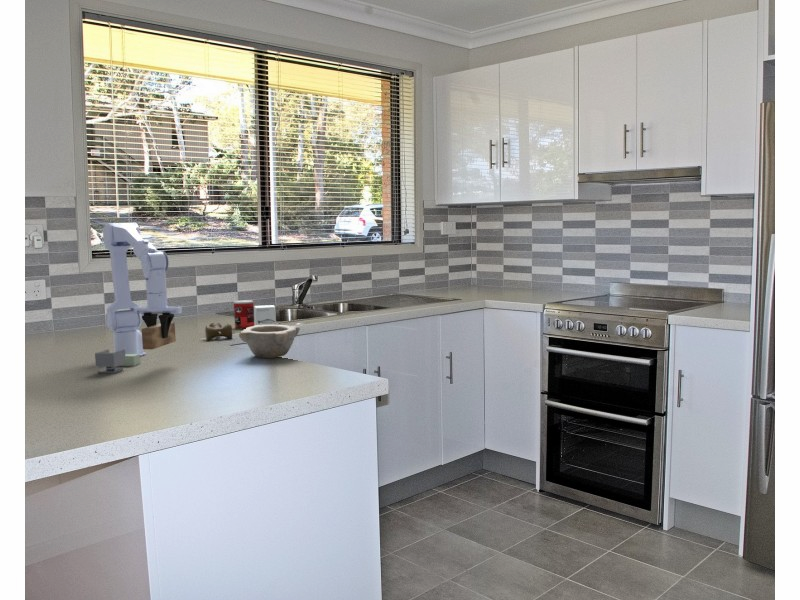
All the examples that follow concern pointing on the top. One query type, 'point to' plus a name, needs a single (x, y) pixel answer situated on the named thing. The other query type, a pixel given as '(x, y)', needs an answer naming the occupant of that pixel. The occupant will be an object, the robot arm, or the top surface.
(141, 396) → the top surface
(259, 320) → the supplement box
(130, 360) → the block
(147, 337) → the walnut rail
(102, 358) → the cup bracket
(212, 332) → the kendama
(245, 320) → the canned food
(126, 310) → the robot arm
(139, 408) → the top surface
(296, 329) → the mortar
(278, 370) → the top surface
